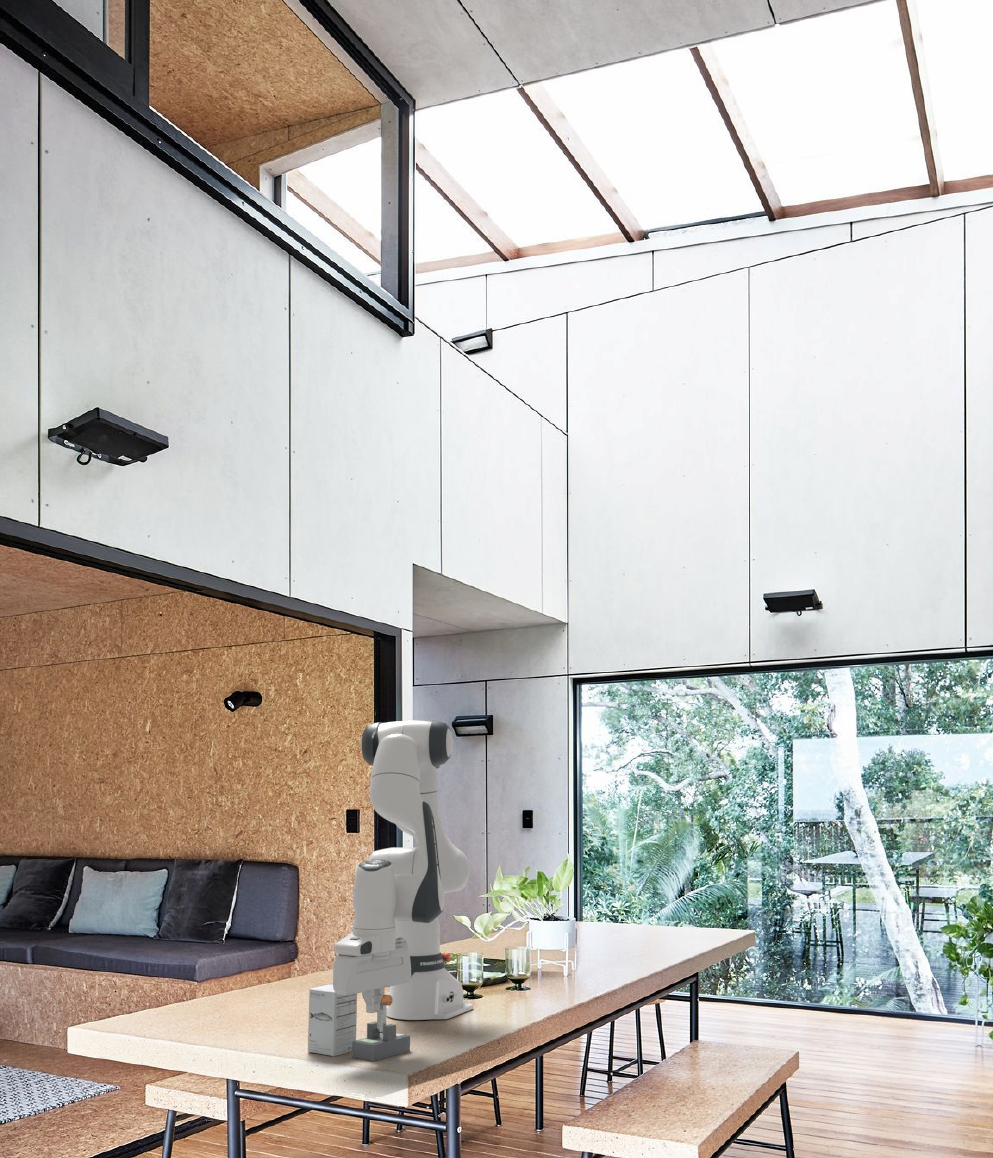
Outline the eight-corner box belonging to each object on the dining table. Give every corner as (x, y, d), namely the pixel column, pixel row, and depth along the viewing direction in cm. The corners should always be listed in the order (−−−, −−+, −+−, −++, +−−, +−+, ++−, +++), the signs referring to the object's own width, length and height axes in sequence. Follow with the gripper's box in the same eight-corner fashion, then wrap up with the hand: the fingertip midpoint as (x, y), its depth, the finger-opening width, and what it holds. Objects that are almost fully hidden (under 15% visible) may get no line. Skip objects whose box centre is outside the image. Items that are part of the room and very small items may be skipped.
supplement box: (306, 1052, 235) (307, 988, 237) (330, 1045, 241) (331, 983, 243) (333, 1057, 231) (334, 991, 233) (357, 1050, 237) (358, 986, 239)
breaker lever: (377, 1031, 236) (378, 992, 237) (392, 1033, 234) (392, 994, 235) (370, 1032, 234) (371, 993, 236) (385, 1035, 232) (386, 995, 233)
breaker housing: (388, 1046, 239) (388, 1017, 240) (410, 1050, 236) (410, 1021, 237) (351, 1057, 231) (352, 1026, 232) (374, 1061, 227) (374, 1030, 228)
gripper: (395, 935, 245) (395, 1002, 243) (328, 945, 229) (326, 1018, 227) (418, 937, 242) (418, 1005, 239) (351, 948, 226) (350, 1022, 223)
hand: (373, 1012), depth 233 cm, fingers closed
